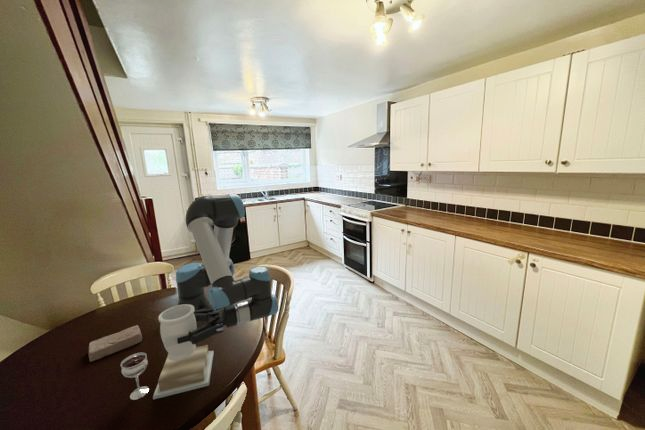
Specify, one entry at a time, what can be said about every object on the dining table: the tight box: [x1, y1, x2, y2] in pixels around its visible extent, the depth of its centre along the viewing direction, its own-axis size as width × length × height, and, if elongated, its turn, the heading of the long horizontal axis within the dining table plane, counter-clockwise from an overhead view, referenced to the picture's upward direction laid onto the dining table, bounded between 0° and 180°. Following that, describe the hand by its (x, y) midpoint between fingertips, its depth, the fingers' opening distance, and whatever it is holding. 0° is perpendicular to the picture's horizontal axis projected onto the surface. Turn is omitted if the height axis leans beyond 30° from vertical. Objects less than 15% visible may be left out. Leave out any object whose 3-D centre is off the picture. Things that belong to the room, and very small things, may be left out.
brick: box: [88, 324, 143, 362], centre depth 103 cm, size 16×8×5 cm, turn 133°
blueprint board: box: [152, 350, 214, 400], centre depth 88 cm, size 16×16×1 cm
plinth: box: [157, 344, 210, 391], centre depth 88 cm, size 13×13×4 cm
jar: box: [158, 304, 198, 361], centre depth 85 cm, size 11×10×15 cm
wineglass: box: [120, 351, 150, 401], centre depth 80 cm, size 7×7×12 cm
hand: (166, 333), depth 83 cm, fingers closed on jar, 10 cm apart
